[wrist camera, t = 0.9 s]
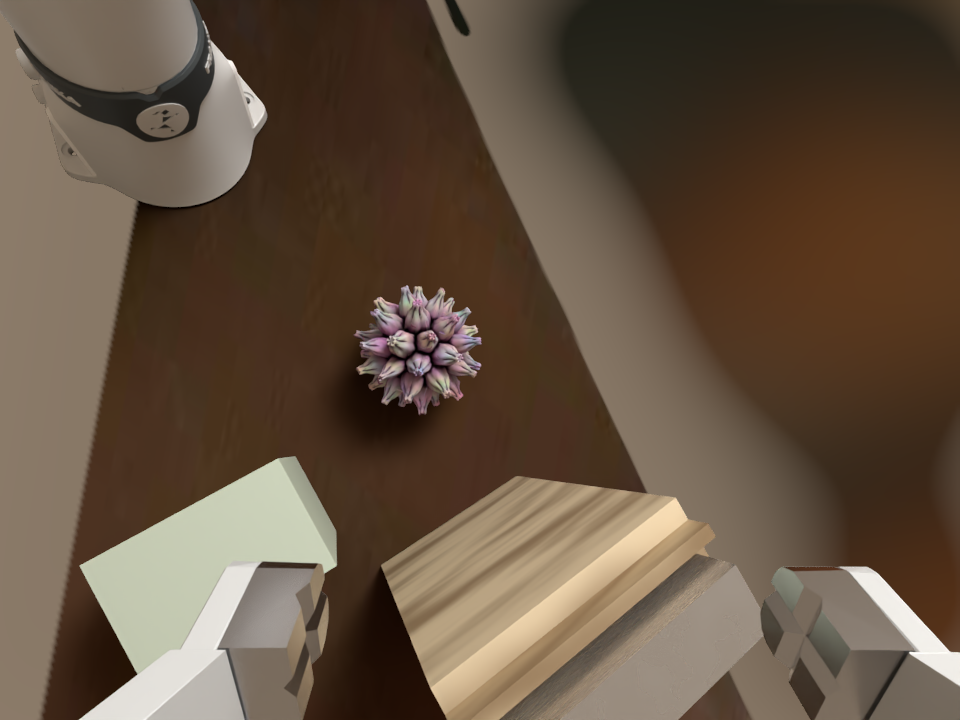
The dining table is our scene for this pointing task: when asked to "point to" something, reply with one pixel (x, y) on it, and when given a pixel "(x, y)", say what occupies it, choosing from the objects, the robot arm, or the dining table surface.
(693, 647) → the steel bar
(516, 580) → the oak stand
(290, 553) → the sage block
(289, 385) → the dining table surface
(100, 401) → the dining table surface
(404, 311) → the flower
